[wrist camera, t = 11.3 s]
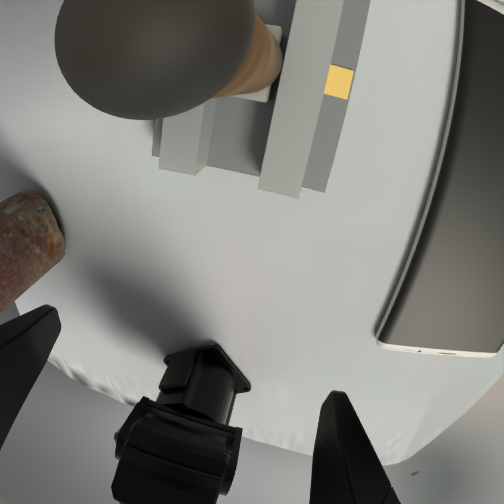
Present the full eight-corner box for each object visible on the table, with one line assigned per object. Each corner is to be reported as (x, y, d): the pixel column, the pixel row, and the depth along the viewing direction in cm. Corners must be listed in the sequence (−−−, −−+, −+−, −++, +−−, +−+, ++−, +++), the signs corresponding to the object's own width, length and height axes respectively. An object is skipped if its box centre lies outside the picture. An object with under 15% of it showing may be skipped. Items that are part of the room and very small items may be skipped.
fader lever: (282, 102, 15) (200, 153, 4) (213, 90, 15) (8, 132, 4) (296, 37, 13) (254, -102, 2) (225, 27, 13) (38, -60, 2)
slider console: (322, 182, 19) (326, 205, 15) (165, 148, 19) (135, 164, 16) (376, -65, 10) (389, -93, 6) (212, -87, 10) (191, -114, 7)
